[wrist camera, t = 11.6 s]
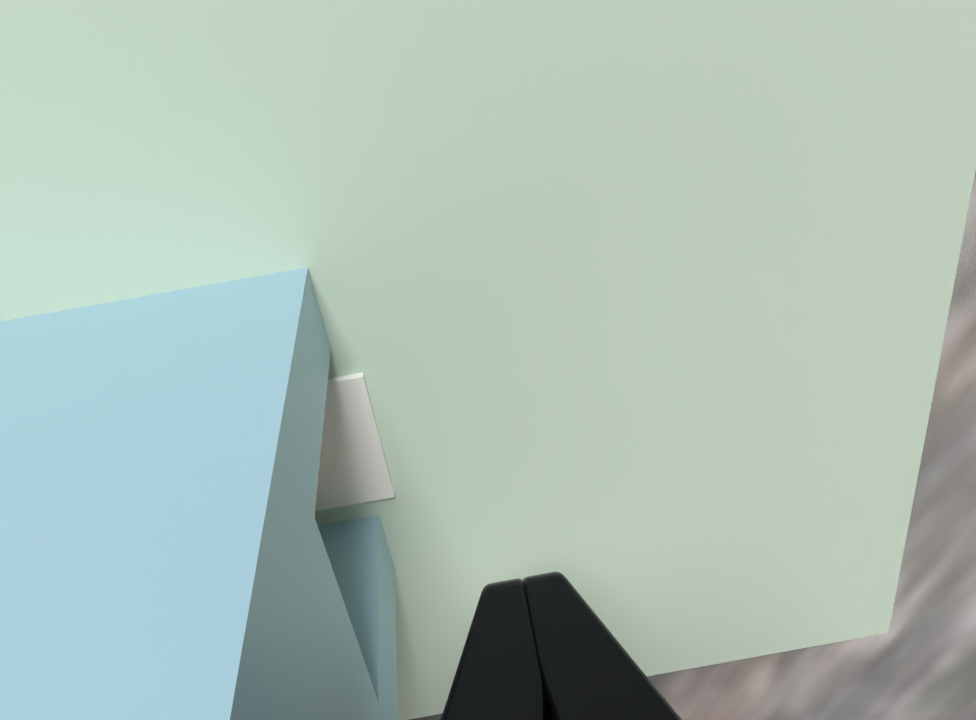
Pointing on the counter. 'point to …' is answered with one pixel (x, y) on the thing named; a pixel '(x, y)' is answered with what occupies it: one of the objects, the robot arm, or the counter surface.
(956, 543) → the counter surface
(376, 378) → the pale green flat slab
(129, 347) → the blue notched block
